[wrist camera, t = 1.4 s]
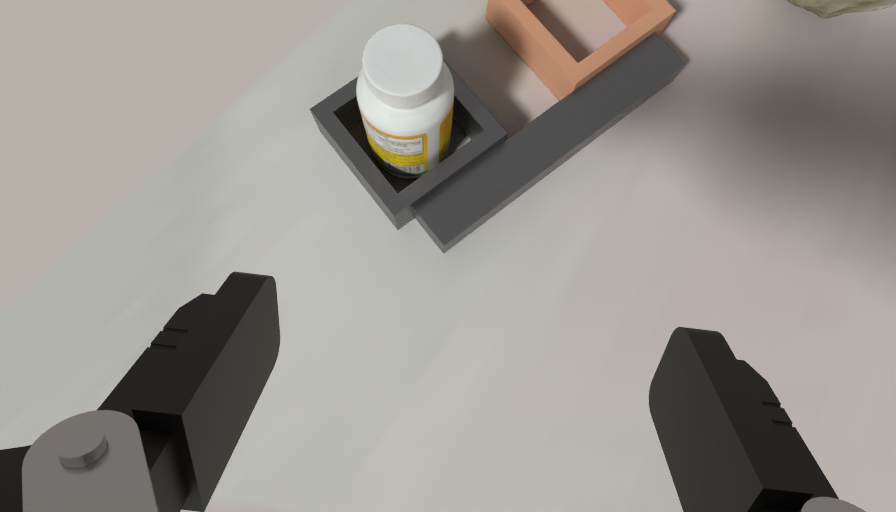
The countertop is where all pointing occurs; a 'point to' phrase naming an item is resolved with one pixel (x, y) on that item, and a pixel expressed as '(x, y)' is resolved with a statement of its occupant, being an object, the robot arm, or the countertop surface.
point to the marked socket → (633, 3)
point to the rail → (498, 144)
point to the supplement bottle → (406, 100)
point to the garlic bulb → (841, 6)
